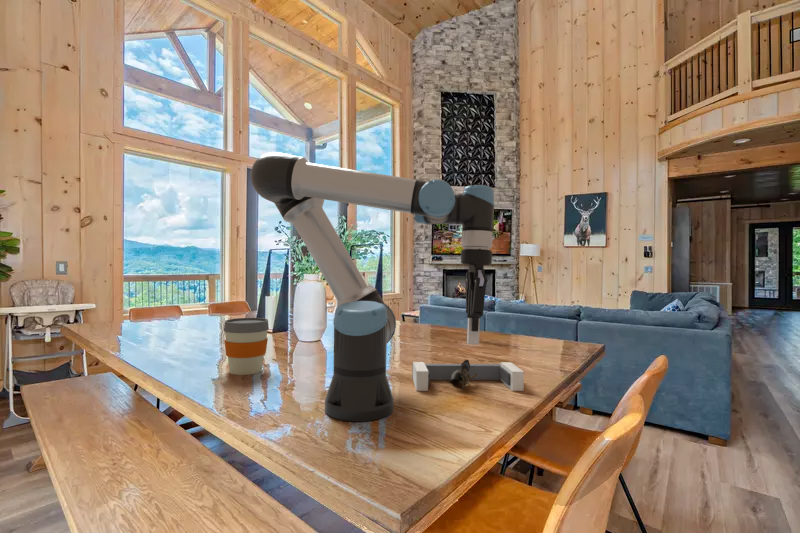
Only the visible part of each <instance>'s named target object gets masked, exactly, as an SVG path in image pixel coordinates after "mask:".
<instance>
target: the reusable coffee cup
mask: <svg viewBox="0 0 800 533" xmlns="http://www.w3.org/2000/svg"><path fill="white" fill-rule="evenodd" d="M223 326H224V327H223V332H224V335H225V337H224V338H225V339H224V347H225V349H224V350H225V357H227V360H228V361H227V362H228V369H229V370H228V371H229V373H230V374H232V375H235V376H236V375H237V376H245V375H247V376H248V375H255V374H259V373H260V372H262V370H263V365H264V358H265V357H264V356H265V355H266V354H267V345H268V340H269V339H268V337H267V336H268V331H269V330H270V328H269V319H268V318H263V317H239V318H238V317H236V318H230V319H226V320H224V324H223Z"/></svg>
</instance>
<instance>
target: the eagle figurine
mask: <svg viewBox="0 0 800 533" xmlns="http://www.w3.org/2000/svg"><path fill="white" fill-rule="evenodd" d="M460 364H461V369H460V372H459V370H456V371H455V372H454V373H452V375H451V378H450V379H449V380H448V381H451V382H452V381H459V383H460V384H461V385H462V386H461V390H463V391H464V389H465V387H466V386H467V385H468V386H469V387H471V384H470V381H471V380H470V379H472V378H474V377H475V376H476V375H477V373H476V374H474V375H473V376H472V377H469V373H467V372H469V370H470V364H471V363H470V360H468V359H464V361H463V362H462V363H460ZM466 374H467V375H466Z"/></svg>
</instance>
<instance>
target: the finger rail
mask: <svg viewBox="0 0 800 533" xmlns="http://www.w3.org/2000/svg"><path fill="white" fill-rule="evenodd" d="M461 364H462V363H425V361H413V363H412V372H411V373H412V374H411V376H412V377H411V378H412V381H413V382H412V383H413V385H414V387H415V391H416V392H427V391H429V386H430V383H431V382H430V381H431V380H432V381H434V380H435V381H442V380H443V381H445V380H446V381H450V380H449V379H450V378H451V375H452V373H454V372H455V371H456V370H459V372H460V369H461ZM469 364H470V370H469V372H467V373H469V377H472V376H473V375H474V374H476V373H477V375H476V376H475V377H474V378H472V379H470V380H469V381H475V380H476V381H501V382H502V383H503V384H504V385H505V386H506V387H507V388H508V389H509V390H511V391H512V392H523V391H524V383H525V382H524V381H525V380H524V377H525V376H524V374H525V373H524V372H525V371H523V369H521V368H520V367H518V366H517V365H515V364H514V363H512V362H505V361H502V362H500V363H469ZM466 375H467V374H466Z"/></svg>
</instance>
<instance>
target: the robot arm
mask: <svg viewBox="0 0 800 533" xmlns="http://www.w3.org/2000/svg"><path fill="white" fill-rule="evenodd" d="M250 181H251V184H252V187H253V190H254V191H255V192H256V193H257V194H258V195H259V196H260V197H261V198H263V199H265V200H267V201H269V202H272V203H274V205H275V207H276V208H277V210H278V212H279V214H280V215H281V217H282V219H283V221H284V222H286V223H290V224H293V226H294V228H295V229H296V232H298V236H300V238H301V241H302V242H303V244H304V245H305V247H306V249H307V250H308V252H309V254H310V256H311V257H312V259H313V260H314V263H315V264H316V266H317V267H318V269H319V271H320V273H321V274H322V276H323V278H324V280H325V282H326V283H327V286H328V287H329V289H330V290H331V293H333V296H334V297H335V300H336V301H337V302H338V305H337V307H336V308H335V310H334V311H335V312H334V317H333V373H332V374H333V375H332V378H331V382H330V384H329V387H328V390H327V392H326V396H325V399H324V412H325V414H326V415H328V416H329V417H331V418H332V419H336V420H340V421H344V422H345V421H347V422H367V421H375V420H379V419H383V418H385V417H387V416H389V415H390V414H392V412H393V411H394V397H393V396H394V395H393V393H392V390H391V387H390V383H389V379H388V377H387V344H388V343H389V342H390V341H391V340H392V339H393V337H394V335H395V331H396V328H397V321H396V316H395V314H394V311H393V309H392V308H390V306H389V305H387V304H386V303H385V301H384V300H383V298H382V297H381V295H380V293H379V291H378V290H377V288H376V287H375V288H374V287H370V286H368V284H367V282H366V281H365V280H364V277H363V276H362V274H361V271H360V270H359V269H358V267H357V265H356V264H355V262H354V260H353V259H352V257H351V255H350V253H349V251H348V250H347V248H346V246H345V245H344V243H343V241H342V240H341V238H340V236H339V234H338V232H337V231H336V229H335V227H334V226H333V224H332V223H331V221H330V219H329V217H328V215H327V214H326V212H325V210H324V208H323V206H324V202H325V200H326V201H332V202H337V203H338V202H339V203H343V204H350V205H358V206H362V207H370V208H375V209H381V210H386V211H387V210H388V211H393V212H400V213H406V214H412V215H414V220H415V222H416V223H418V224H424V225H425V224H426V225H459V226H460V225H461V226H462V228H461V245H460V246H461V247H462V248H463V249H462V250H461V251H460V252H461V253H460V263H461V264H462V265H468V269H467V271H466V275H465V276H464V281H465V282H464V283H465V312H466V314H467V315H466V318H467V331H466V334H467V335H466V337H467V338H466V344H467V345H480V330H481V329H480V328H481V327H480V325H481V318H482V317H483V316H484V308H485V296H486V290H487V289H486V288H487V284H488V277H486V272H485V268H484V266H491V265H492V263H493V260H492V258H493V251H492V250H491V249H492V248H493V241H494V240H495V238H496V237H495V236H493V233H494V230H493V228H494V216H495V215H494V212H495V191H494V189H493V188H492V187H491V186H489V185H485V184H474V185H472V184H471V185H467V186H465V187H464V188H463V192H462V193H460V194H459V193H458V194H456V193H455V192H454V189H453V187H452V186H451V185H450V184H449V182H447V181H445V180H443V179H438V178H437V179H435V178H434V179H430V180H429V181H428V180H427V181H426V180H418V179H413V178H408V177H402V176H394V175H387V174H383V173H376V172H371V171H370V172H369V171H364V170H357V169H351V168H346V167H345V168H344V167H339V166H332V165H326V164H319V163H314V162H313V163H312V162H309V161H308V159H307V158H306V157H304V156H298V155H292V154H288V153H285V152H284V153H283V152H278V151H275V152H274V151H273V152H267V153H264V154H262V155H260V157H258V158H257V159H256V160H255V161H254V163H253V165H252V167H251V170H250Z"/></svg>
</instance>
